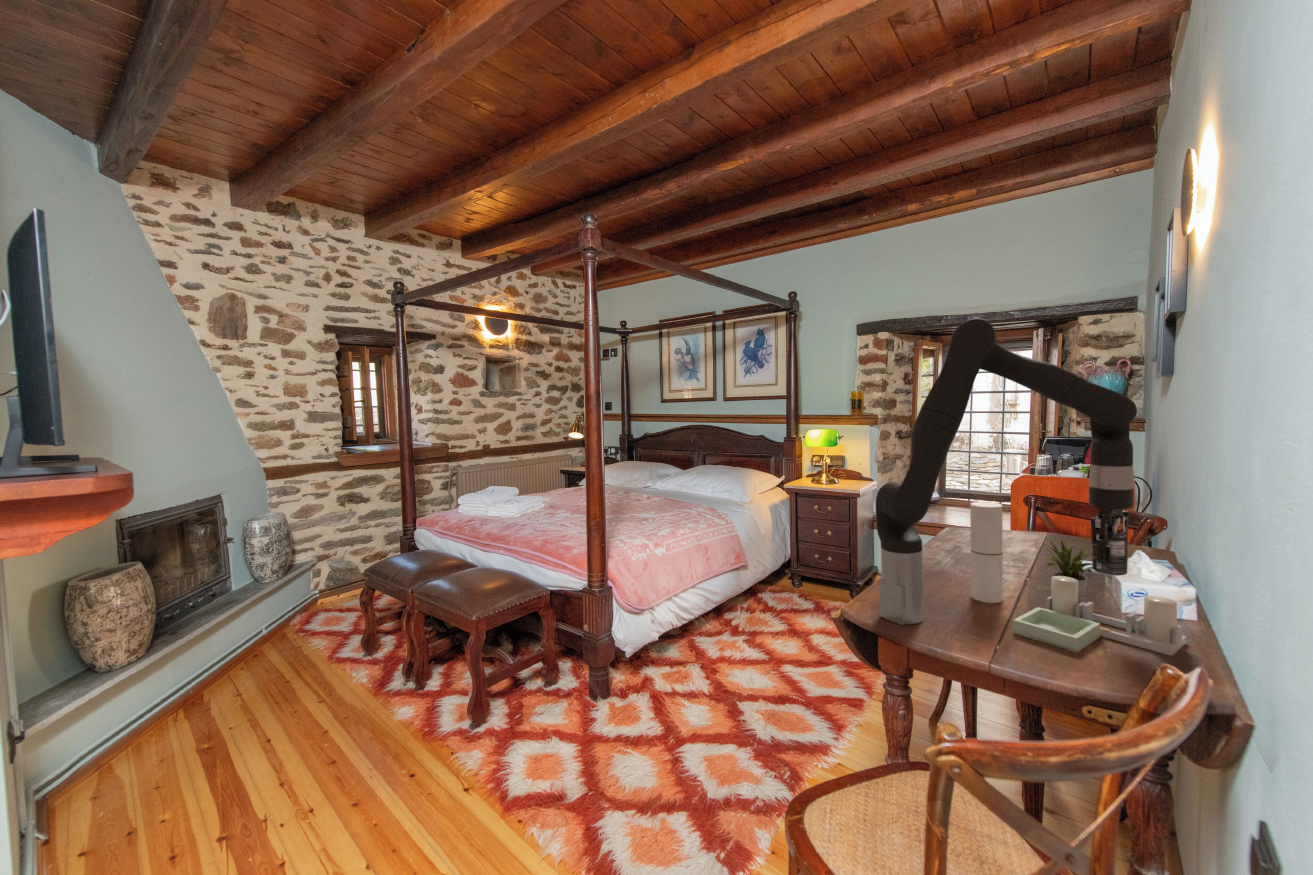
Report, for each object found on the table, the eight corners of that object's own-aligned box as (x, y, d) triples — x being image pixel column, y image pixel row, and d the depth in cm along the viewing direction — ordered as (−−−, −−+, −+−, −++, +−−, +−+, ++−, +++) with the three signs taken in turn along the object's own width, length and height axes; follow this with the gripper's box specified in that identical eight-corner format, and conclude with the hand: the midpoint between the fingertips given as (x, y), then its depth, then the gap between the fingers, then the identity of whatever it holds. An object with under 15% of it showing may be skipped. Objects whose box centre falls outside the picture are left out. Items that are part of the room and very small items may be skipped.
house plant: (1017, 594, 143) (1017, 534, 142) (1052, 585, 148) (1052, 527, 147) (1075, 612, 130) (1075, 546, 129) (1111, 602, 135) (1112, 539, 134)
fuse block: (1171, 655, 108) (1172, 609, 107) (1041, 619, 127) (1041, 580, 126) (1186, 643, 112) (1186, 599, 112) (1058, 610, 132) (1058, 572, 131)
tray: (1076, 652, 111) (1076, 638, 111) (1013, 632, 121) (1013, 619, 121) (1100, 636, 117) (1100, 623, 117) (1037, 619, 127) (1037, 606, 127)
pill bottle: (1100, 566, 123) (1100, 517, 122) (1132, 572, 117) (1133, 522, 117) (1086, 570, 120) (1087, 521, 119) (1119, 578, 115) (1120, 525, 114)
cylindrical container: (971, 600, 140) (971, 506, 139) (970, 591, 147) (969, 501, 145) (1004, 604, 137) (1003, 507, 135) (1001, 594, 143) (1000, 502, 142)
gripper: (1119, 491, 111) (1118, 571, 112) (1145, 483, 118) (1143, 558, 119) (1076, 487, 117) (1075, 562, 118) (1103, 480, 124) (1101, 551, 126)
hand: (1109, 560), depth 119 cm, fingers closed on pill bottle, 6 cm apart
